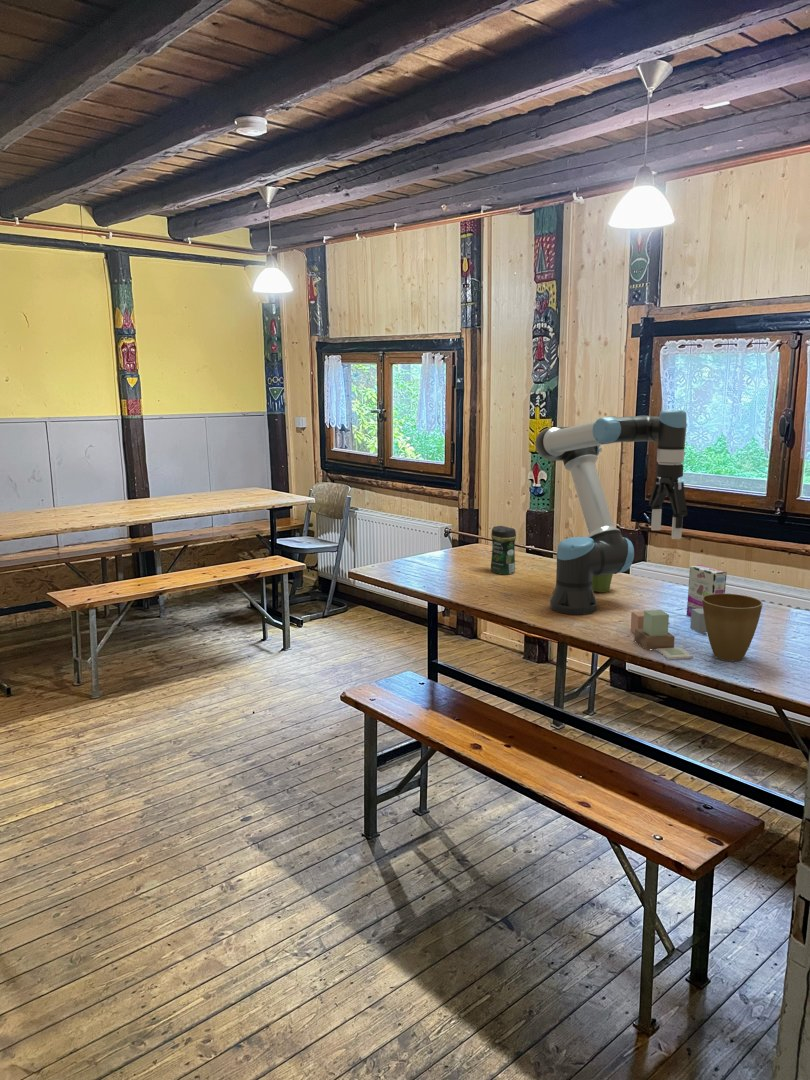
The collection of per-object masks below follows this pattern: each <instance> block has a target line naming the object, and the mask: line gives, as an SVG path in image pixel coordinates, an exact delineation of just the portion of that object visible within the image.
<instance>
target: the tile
mask: <svg viewBox="0 0 810 1080" xmlns="http://www.w3.org/2000/svg"><path fill="white" fill-rule="evenodd" d="M658 651H659V652H660V653H659V652H658ZM656 652H658V653H659V654H660V655H662V654H663V655H664V656H665V658H666V659H667V660H682V659H683V660H684V659H693V658H694V655H692V654H691V653H690V652H688V651H686V650H685V649H684V648H683V647H682V646H681V647H674V648H657V650H656ZM663 655H662V656H663ZM664 656H663V657H664Z"/></svg>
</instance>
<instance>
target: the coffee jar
mask: <svg viewBox="0 0 810 1080" xmlns="http://www.w3.org/2000/svg"><path fill="white" fill-rule="evenodd" d="M490 537H491V542H492V543H491V544H492V546H491V547H492V548H491V561H490V571H491V572H492V571H493V572H492V573H495V572H496V573H495V574H498V573H501V574H500V575H508V574H509V573H512V574H514V573H515V572H516V557H515V555H516V554H515V553H516V550H515V547H516V546H515V545H516V539H517V531H516V529H515V528H514V527H513V528H512V527H508V526H504V525H497V526H496V525H495V526H493V528H492V529H491V535H490ZM509 575H510V574H509Z"/></svg>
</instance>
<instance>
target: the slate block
mask: <svg viewBox="0 0 810 1080" xmlns="http://www.w3.org/2000/svg"><path fill="white" fill-rule="evenodd" d="M689 627H690V629H691V628H692V629H691V630H693V631H695V632H697V634H703V633H704V632H707V630H706V625H705V619H704V612H703V609H692V610H691V617H690V626H689ZM704 634H705V633H704Z"/></svg>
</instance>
